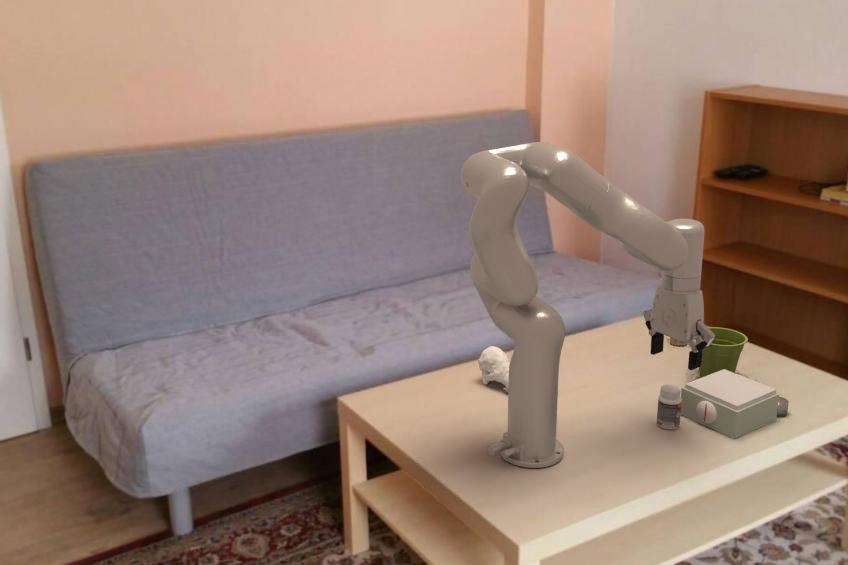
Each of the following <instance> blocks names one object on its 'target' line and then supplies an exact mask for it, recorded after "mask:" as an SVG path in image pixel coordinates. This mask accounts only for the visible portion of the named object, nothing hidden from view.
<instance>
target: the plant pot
mask: <svg viewBox="0 0 848 565" xmlns="http://www.w3.org/2000/svg"><path fill="white" fill-rule="evenodd" d="M707 327H708V328H709V329H710V330H711V331H712V332H713V333H714V334H715V338H714V339H713V341H712V342H711V345H709V346H708V347H707V348H705V349H704V350H703V351H702V363H701V366H700V367H699V368H698V375H699V379H700V378H702V377H705V376H707V375H710V374H713V373H715V372H718V371H720V370H723V369H725V370H728V371H730V372H733V373H735V374H736V370H737V366H738V363H739V359H740V358H741V357H740V356H741V352H742V351H743V350H744V346H745V344H746V343H747V342H748V339H749V338H748V336H746V335H745V334H744V333H742V332H740V331H738V330H734V329H732V328H726V327H717V326H715V327H714V326H707ZM701 338H702V340H703V339H704V335H703V334H702V336H701ZM695 343H696V345H698V344H697V342H696V341H695Z"/></svg>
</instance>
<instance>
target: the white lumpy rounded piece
mask: <svg viewBox="0 0 848 565" xmlns="http://www.w3.org/2000/svg"><path fill="white" fill-rule="evenodd" d="M477 362H478V367H479V370H480V371H481V375H482V380H483V381H482V382H483V385H485V386H487V385H488V384H489V383H490V382H494V381H495V382H496V383H501V384H502V385H504V386H505V387H504V388H503V390H505V391H506V393H508V388H509V365H510V359H509V357H508V356H507V354H506V352H505V351H503V350H502V348H500V347H498V346H494V345H493V346H492V345H491V346H488V347H487V348H485V349H483V351H482V352H481V353H480V357H479V358H478V361H477Z"/></svg>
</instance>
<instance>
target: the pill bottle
mask: <svg viewBox="0 0 848 565" xmlns="http://www.w3.org/2000/svg"><path fill="white" fill-rule="evenodd" d="M659 393H660V394H659V395H658V398H657V413H656V422H655V424H656V425H657V426H658V427H660V429H664V430H676V429H678V428H680V423H681V416H682V414H681V404H682V399H681V388H680V386H678V385H675V384H663V385H661V387H660V391H659Z"/></svg>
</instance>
